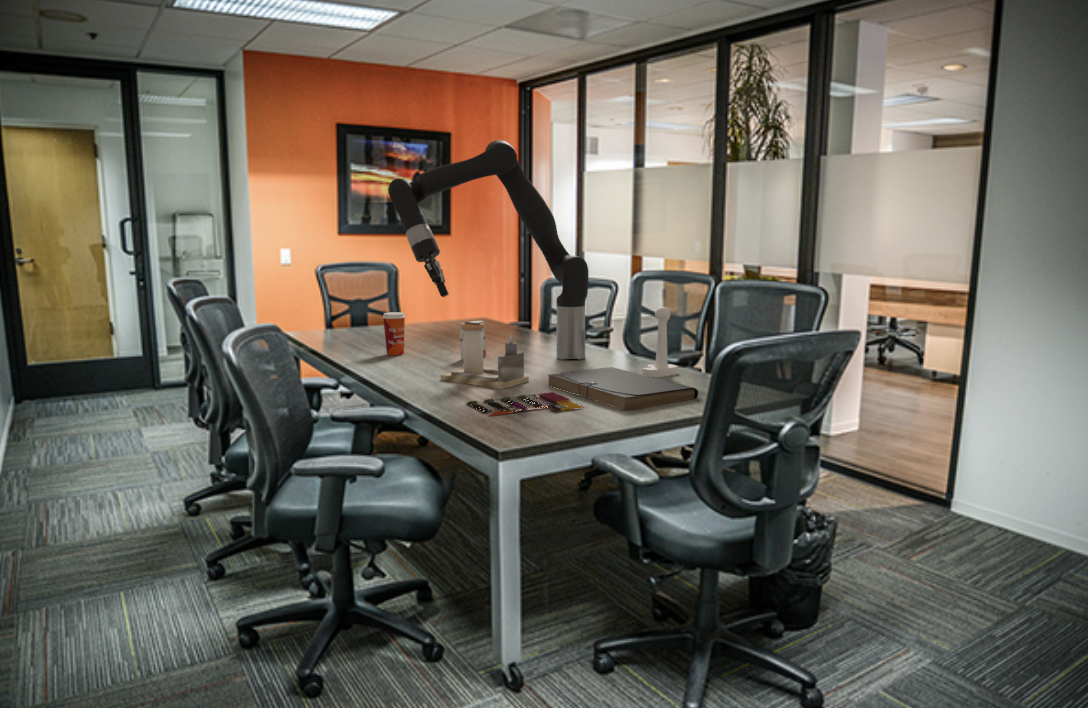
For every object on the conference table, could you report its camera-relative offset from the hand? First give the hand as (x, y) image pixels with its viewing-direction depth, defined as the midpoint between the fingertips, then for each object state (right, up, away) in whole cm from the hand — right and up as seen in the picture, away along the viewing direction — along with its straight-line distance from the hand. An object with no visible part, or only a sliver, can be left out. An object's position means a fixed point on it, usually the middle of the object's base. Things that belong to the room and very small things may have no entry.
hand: (445, 295), depth 223 cm
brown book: (+49, -28, -23) cm, 61 cm away
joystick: (+62, -23, 0) cm, 67 cm away
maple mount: (+12, -25, -9) cm, 29 cm away
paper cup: (-21, -17, +34) cm, 43 cm away
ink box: (+6, -19, +27) cm, 33 cm away
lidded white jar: (+9, -23, -7) cm, 25 cm away
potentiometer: (+20, -17, -16) cm, 31 cm away
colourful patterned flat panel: (+25, -31, -39) cm, 55 cm away
